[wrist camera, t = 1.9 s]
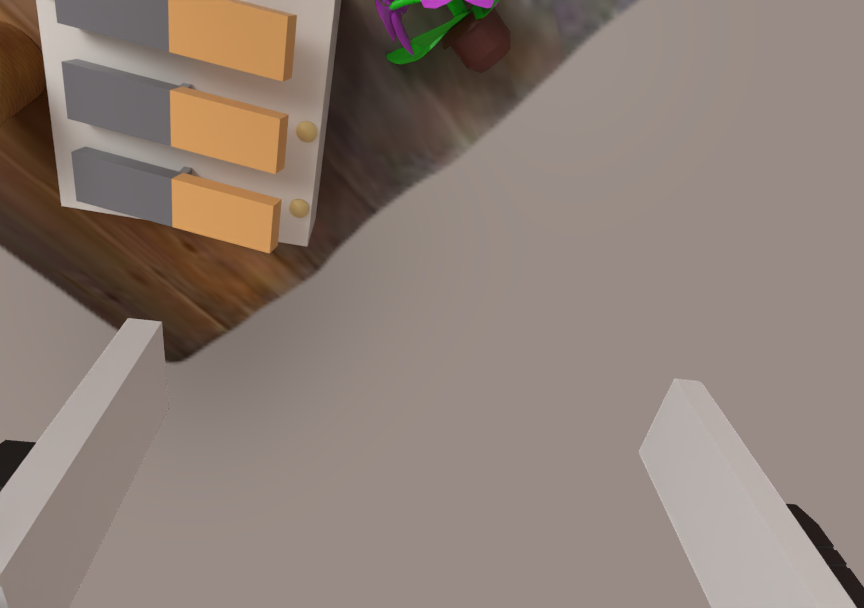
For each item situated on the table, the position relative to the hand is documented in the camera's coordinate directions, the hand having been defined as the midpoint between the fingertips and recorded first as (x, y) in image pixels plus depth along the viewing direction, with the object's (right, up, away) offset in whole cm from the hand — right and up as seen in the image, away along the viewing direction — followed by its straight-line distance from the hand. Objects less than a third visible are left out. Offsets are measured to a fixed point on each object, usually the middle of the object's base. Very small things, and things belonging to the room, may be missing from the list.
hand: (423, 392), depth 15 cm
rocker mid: (-18, +16, +27) cm, 36 cm away
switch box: (-19, +20, +34) cm, 44 cm away
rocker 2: (-20, +10, +30) cm, 37 cm away
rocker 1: (-17, +21, +24) cm, 36 cm away
